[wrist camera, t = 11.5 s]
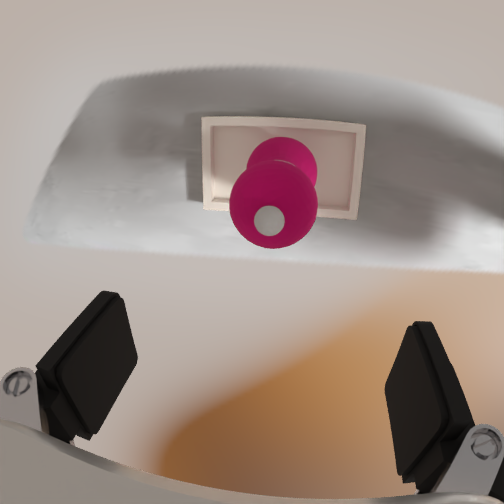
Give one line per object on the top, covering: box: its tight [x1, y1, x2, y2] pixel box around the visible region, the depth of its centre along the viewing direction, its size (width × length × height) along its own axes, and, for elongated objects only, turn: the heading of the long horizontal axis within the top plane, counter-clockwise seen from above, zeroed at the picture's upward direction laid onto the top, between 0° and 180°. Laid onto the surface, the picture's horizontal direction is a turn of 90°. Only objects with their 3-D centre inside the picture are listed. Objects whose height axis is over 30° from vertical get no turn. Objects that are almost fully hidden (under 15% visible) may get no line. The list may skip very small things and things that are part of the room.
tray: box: [201, 116, 366, 220], centre depth 36 cm, size 18×11×2 cm, turn 89°
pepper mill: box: [229, 137, 318, 249], centre depth 27 cm, size 7×7×20 cm
